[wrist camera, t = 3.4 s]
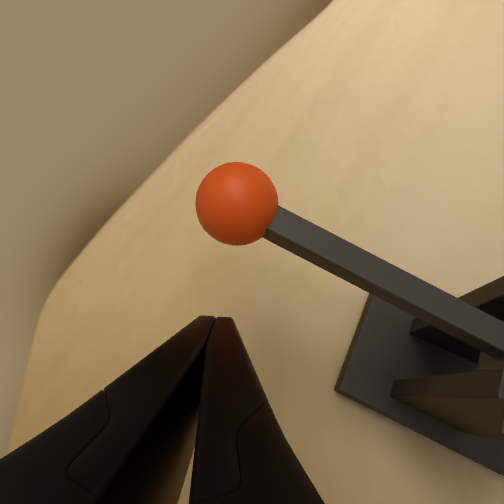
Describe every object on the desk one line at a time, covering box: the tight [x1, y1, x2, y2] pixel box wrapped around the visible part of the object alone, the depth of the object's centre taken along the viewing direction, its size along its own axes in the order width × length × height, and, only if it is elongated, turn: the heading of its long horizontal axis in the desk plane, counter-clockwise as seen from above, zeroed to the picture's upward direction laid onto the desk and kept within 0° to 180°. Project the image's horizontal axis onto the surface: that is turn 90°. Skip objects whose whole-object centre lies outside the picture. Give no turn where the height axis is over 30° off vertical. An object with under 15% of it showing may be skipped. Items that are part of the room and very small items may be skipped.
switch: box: [196, 162, 504, 371], centre depth 13 cm, size 16×3×3 cm, turn 64°
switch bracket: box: [334, 276, 504, 475], centre depth 16 cm, size 10×7×11 cm
